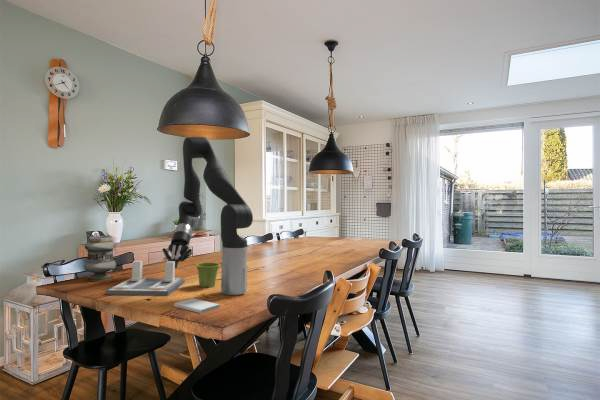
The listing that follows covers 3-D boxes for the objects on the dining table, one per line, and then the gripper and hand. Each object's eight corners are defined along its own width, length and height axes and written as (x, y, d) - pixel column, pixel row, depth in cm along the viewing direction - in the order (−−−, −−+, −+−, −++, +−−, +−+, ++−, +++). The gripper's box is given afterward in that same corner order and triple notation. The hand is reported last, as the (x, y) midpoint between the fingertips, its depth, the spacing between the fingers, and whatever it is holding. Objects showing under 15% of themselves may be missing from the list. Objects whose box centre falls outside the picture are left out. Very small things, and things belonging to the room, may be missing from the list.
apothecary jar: (76, 279, 151) (78, 236, 151) (100, 274, 162) (102, 234, 162) (99, 282, 147) (100, 238, 147) (122, 277, 158) (123, 236, 159)
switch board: (184, 282, 151) (185, 277, 151) (168, 295, 130) (168, 289, 130) (131, 281, 150) (131, 276, 150) (105, 294, 129) (106, 288, 129)
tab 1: (143, 279, 147) (143, 260, 147) (139, 281, 143) (139, 262, 143) (135, 279, 147) (135, 260, 147) (130, 281, 143) (131, 261, 143)
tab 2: (175, 279, 147) (175, 261, 147) (172, 281, 143) (172, 262, 143) (167, 279, 147) (167, 260, 147) (164, 281, 143) (164, 262, 143)
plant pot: (224, 285, 147) (224, 264, 147) (206, 289, 139) (206, 267, 140) (208, 282, 153) (209, 261, 153) (190, 286, 145) (191, 264, 145)
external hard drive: (200, 315, 110) (174, 307, 117) (220, 309, 117) (193, 302, 124) (201, 309, 110) (174, 302, 117) (220, 304, 117) (194, 297, 124)
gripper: (165, 230, 157) (153, 262, 145) (195, 230, 158) (187, 263, 145) (168, 241, 163) (158, 273, 150) (198, 241, 163) (190, 274, 151)
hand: (172, 268), depth 148 cm, fingers closed
